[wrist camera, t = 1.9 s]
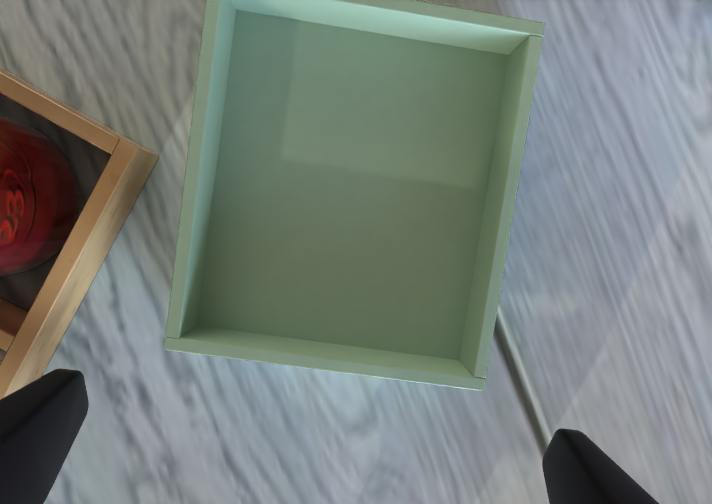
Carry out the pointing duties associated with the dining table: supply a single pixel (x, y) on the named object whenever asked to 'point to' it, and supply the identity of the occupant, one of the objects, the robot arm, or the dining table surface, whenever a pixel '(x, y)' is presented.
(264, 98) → the wash tray
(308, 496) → the dining table surface
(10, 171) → the soda can
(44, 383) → the robot arm
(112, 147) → the cup rack
